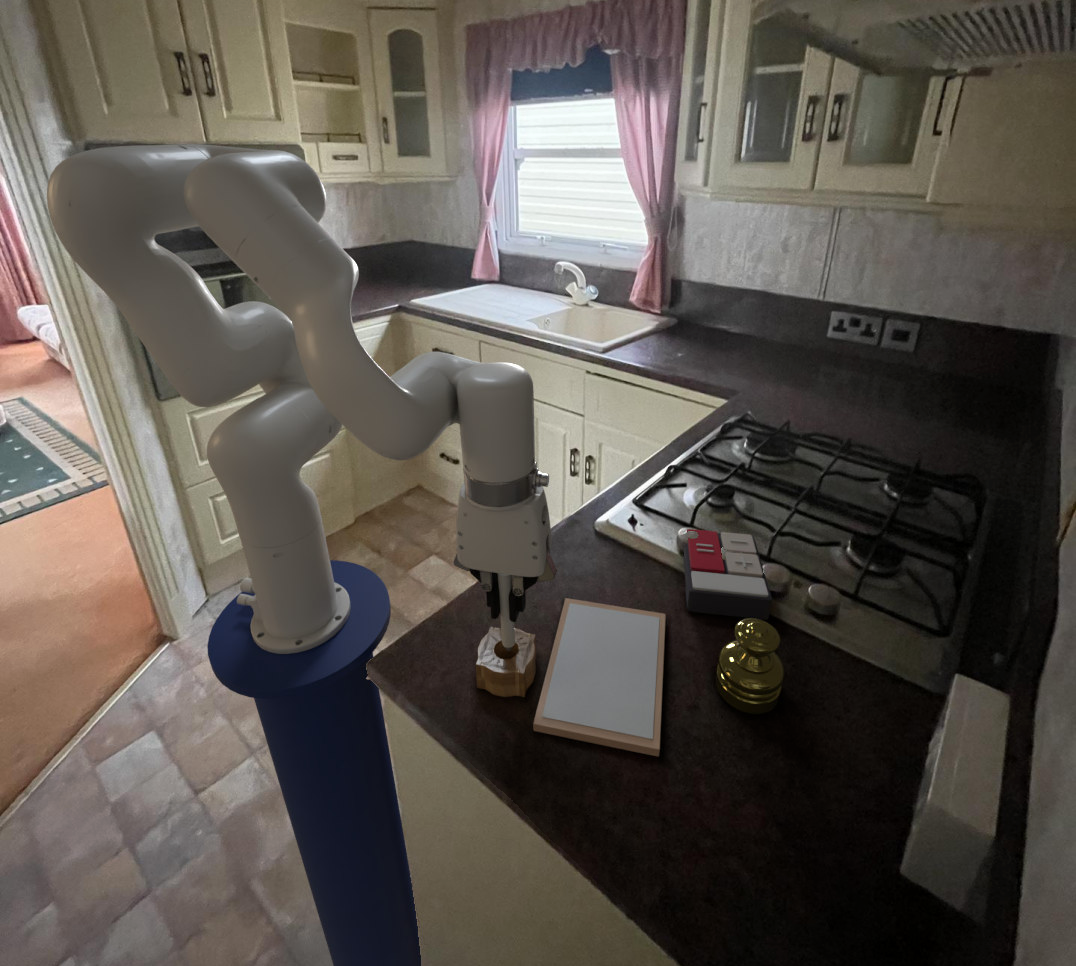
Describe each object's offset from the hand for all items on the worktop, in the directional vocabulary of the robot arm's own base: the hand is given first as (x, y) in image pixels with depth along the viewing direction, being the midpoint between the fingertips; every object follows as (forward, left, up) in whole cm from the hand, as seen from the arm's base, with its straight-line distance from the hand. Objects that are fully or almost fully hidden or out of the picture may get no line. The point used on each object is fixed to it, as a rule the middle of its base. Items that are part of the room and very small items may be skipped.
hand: (506, 611), depth 70 cm
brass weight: (+29, +4, -10) cm, 31 cm away
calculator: (+27, +23, -10) cm, 37 cm away
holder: (0, 0, -10) cm, 10 cm away
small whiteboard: (+12, +3, -10) cm, 16 cm away
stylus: (0, 0, -6) cm, 6 cm away
